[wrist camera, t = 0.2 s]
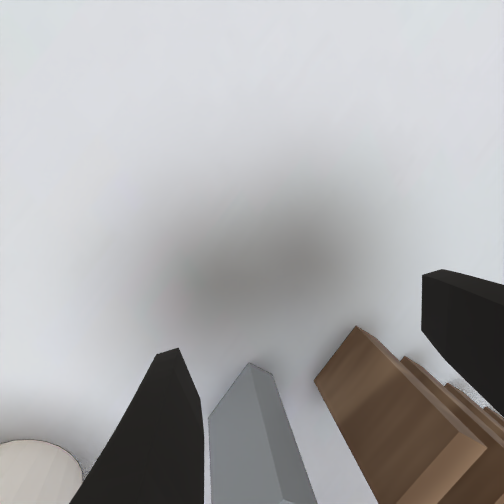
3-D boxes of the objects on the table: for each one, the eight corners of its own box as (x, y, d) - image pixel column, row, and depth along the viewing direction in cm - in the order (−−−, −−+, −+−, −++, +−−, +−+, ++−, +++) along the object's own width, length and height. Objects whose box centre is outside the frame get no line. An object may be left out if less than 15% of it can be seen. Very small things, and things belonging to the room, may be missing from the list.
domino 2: (376, 338, 22) (487, 447, 14) (334, 391, 23) (415, 527, 14) (356, 325, 22) (459, 431, 13) (313, 380, 22) (385, 515, 14)
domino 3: (422, 367, 24) (549, 482, 15) (381, 416, 24) (481, 553, 16) (404, 356, 23) (526, 469, 14) (363, 406, 24) (456, 543, 15)
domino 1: (272, 374, 22) (320, 512, 13) (232, 428, 22) (253, 593, 14) (248, 362, 21) (283, 499, 12) (208, 417, 22) (214, 583, 13)
